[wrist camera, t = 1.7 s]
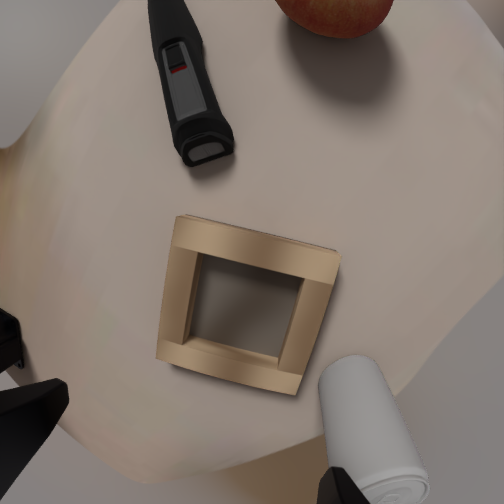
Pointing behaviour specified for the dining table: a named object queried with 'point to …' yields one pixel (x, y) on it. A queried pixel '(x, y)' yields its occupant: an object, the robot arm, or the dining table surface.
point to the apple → (337, 15)
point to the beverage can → (370, 433)
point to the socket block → (243, 303)
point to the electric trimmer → (187, 85)
